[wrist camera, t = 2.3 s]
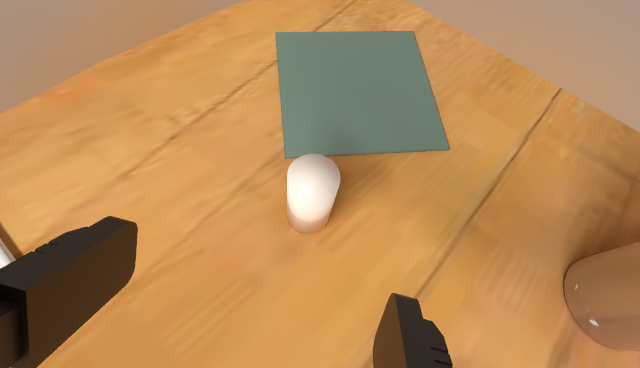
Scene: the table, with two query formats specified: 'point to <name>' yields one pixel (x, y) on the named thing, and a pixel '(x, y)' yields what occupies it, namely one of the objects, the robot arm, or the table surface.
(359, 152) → the felt mat
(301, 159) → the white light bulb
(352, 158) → the table surface
